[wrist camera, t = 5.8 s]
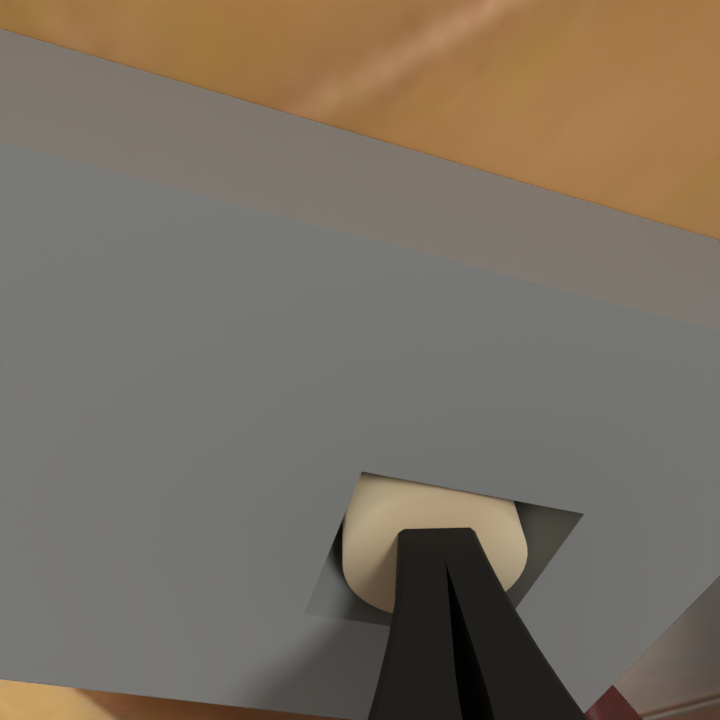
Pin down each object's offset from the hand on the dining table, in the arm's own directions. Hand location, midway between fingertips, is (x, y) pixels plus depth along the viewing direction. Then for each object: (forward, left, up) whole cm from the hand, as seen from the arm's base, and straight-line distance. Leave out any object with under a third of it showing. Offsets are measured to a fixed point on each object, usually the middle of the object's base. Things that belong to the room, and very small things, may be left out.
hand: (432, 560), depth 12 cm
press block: (+5, 0, -5) cm, 7 cm away
